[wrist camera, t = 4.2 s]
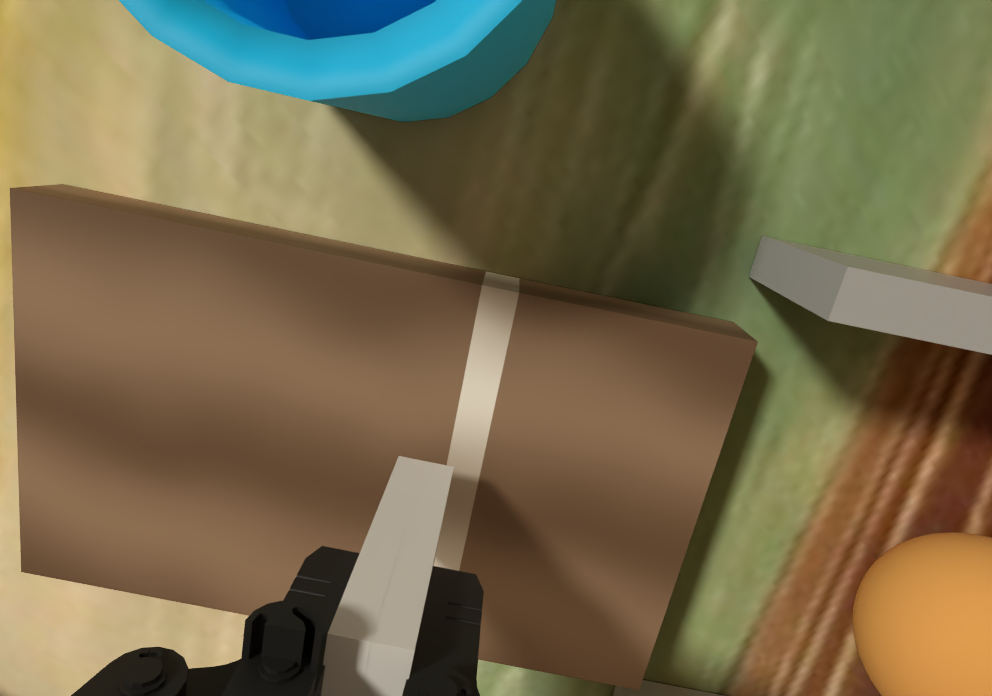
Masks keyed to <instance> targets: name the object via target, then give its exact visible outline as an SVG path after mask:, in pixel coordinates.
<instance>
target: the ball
mask: <svg viewBox="0 0 992 696" xmlns="http://www.w3.org/2000/svg"><path fill="white" fill-rule="evenodd" d="M853 630H854V637H855V643H856V647H857V650H858V653H859V656H860V658H861V661H862V663H863V666H864V668H865V670H866V672H867V674H868V676H869V678H870V679H871V681H872V682H873V684H874V686H875V687H876V689H877V690H878V691H879V693H880V694H881V696H992V538H990V537H986V536H981V535H976V534H968V533H956V532H951V533H934V534H929V535H924V536H920V537H915V538H912V539H910V540H907V541H905V542H903V543H900V544H898V545H896V546H895V547H893V548H891V549H890V550H888V551H887V552H885V553H884V554H883V555H882V556H880V557H879V558H878V559H877V560H876V561H875V562H874V563H873V565H872V566H871V567H870V568H869V569H868V571H867V572H866V574H865V575H864V577H863V579H862V581H861V583H860V586H859V588H858V590H857V593H856V597H855V601H854V607H853Z"/></svg>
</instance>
